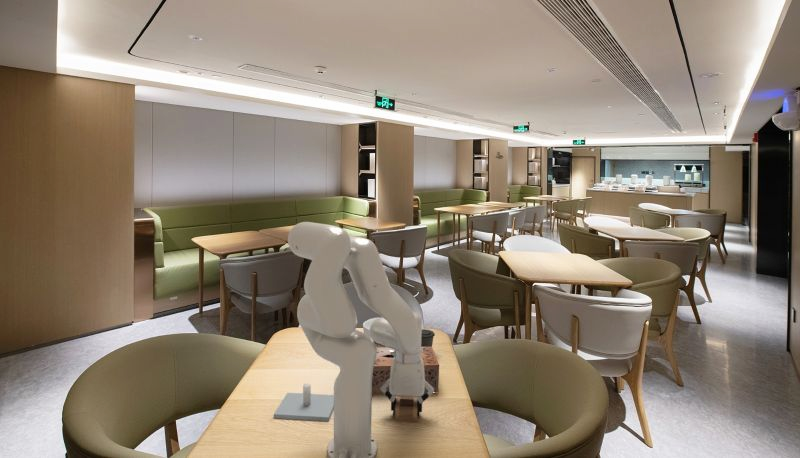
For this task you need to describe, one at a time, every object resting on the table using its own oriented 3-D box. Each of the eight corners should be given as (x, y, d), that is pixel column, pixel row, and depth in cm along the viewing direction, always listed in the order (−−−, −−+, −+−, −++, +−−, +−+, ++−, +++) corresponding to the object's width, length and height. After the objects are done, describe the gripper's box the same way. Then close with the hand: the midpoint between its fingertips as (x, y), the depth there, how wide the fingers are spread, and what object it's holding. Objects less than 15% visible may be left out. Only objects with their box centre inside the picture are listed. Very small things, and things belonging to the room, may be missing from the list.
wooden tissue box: (416, 422, 119) (417, 409, 118) (394, 421, 119) (395, 408, 119) (417, 410, 125) (417, 397, 125) (396, 408, 125) (396, 396, 125)
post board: (328, 421, 118) (328, 397, 117) (273, 418, 119) (273, 394, 118) (337, 398, 130) (337, 377, 129) (287, 396, 131) (287, 374, 130)
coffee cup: (433, 360, 159) (434, 335, 157) (412, 358, 160) (412, 334, 159) (434, 352, 167) (435, 328, 165) (414, 350, 168) (415, 326, 167)
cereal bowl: (386, 329, 191) (386, 314, 190) (409, 340, 178) (410, 324, 177) (355, 337, 180) (355, 322, 179) (378, 350, 167) (378, 333, 166)
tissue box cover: (431, 373, 149) (431, 346, 148) (438, 393, 135) (439, 364, 134) (359, 374, 147) (359, 347, 146) (358, 396, 133) (359, 366, 132)
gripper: (376, 359, 116) (375, 418, 119) (438, 362, 115) (436, 422, 118) (379, 348, 124) (378, 404, 126) (437, 351, 123) (435, 407, 125)
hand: (406, 412), depth 122 cm, fingers closed on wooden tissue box, 6 cm apart
